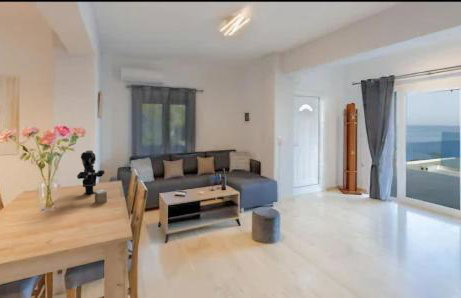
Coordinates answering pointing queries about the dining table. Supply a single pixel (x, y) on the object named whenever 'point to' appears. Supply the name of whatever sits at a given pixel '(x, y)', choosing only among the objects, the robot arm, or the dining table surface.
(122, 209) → the dining table surface
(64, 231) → the dining table surface
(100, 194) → the polished metal block
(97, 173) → the robot arm
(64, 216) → the dining table surface
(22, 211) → the dining table surface
